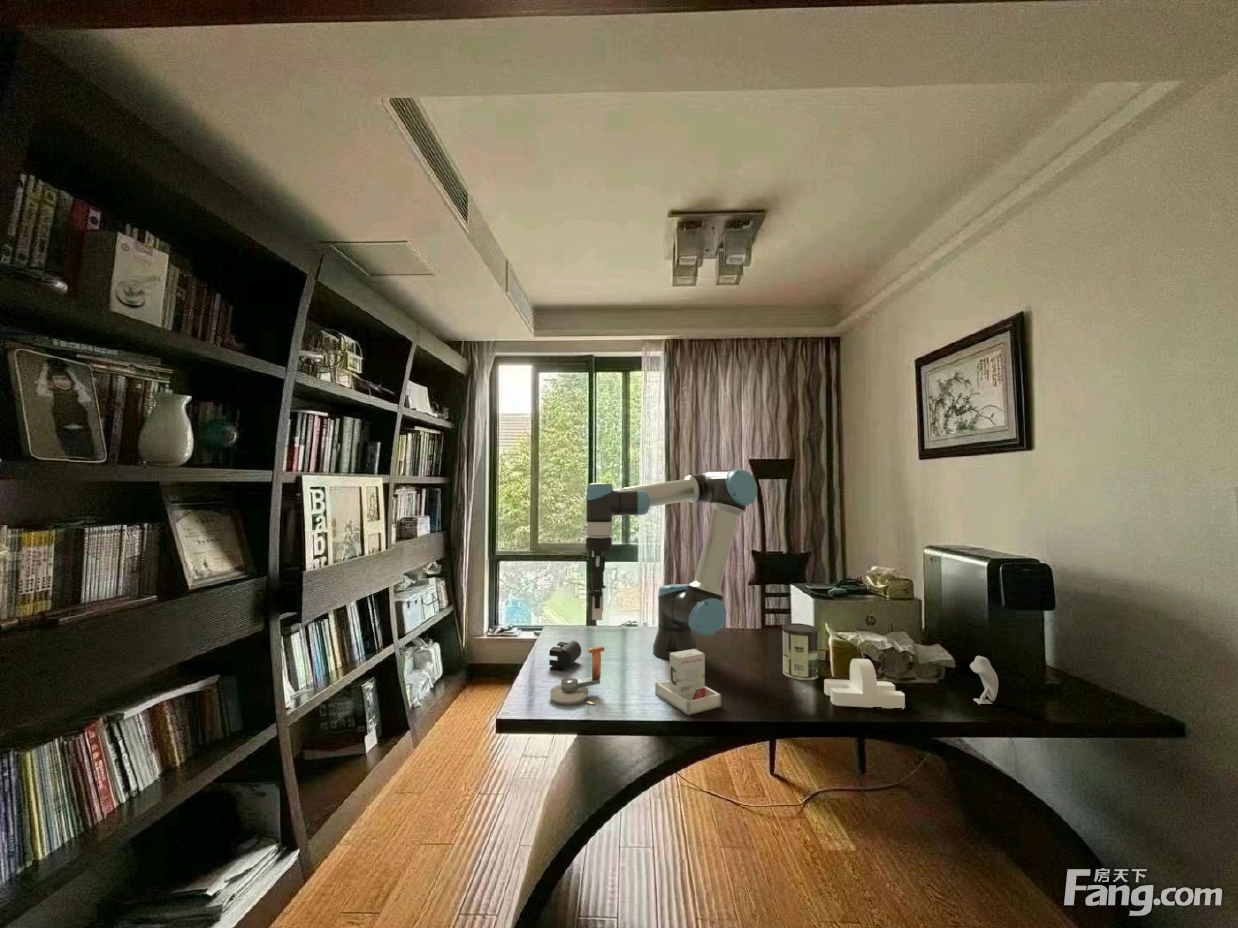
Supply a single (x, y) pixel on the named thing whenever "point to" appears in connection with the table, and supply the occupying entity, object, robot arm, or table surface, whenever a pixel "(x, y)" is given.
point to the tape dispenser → (863, 688)
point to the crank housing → (569, 696)
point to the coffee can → (800, 651)
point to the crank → (574, 684)
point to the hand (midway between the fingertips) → (597, 615)
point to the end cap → (564, 655)
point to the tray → (688, 707)
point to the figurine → (985, 679)
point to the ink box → (687, 674)
